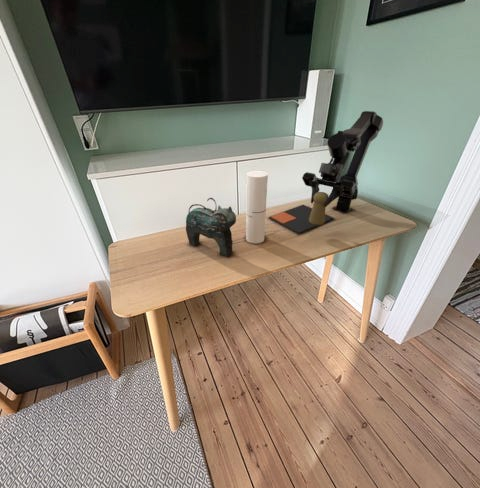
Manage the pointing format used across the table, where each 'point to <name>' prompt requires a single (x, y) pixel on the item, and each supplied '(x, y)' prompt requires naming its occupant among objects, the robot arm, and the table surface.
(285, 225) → the rubber mat
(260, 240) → the cylindrical container
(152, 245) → the table surface
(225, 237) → the ceramic cat
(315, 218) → the cork
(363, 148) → the robot arm
